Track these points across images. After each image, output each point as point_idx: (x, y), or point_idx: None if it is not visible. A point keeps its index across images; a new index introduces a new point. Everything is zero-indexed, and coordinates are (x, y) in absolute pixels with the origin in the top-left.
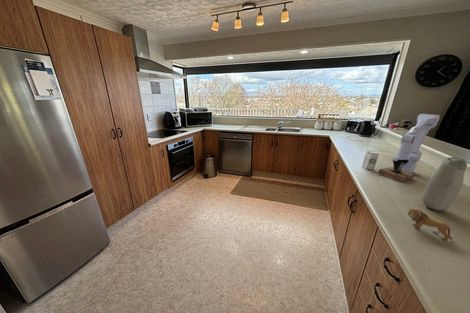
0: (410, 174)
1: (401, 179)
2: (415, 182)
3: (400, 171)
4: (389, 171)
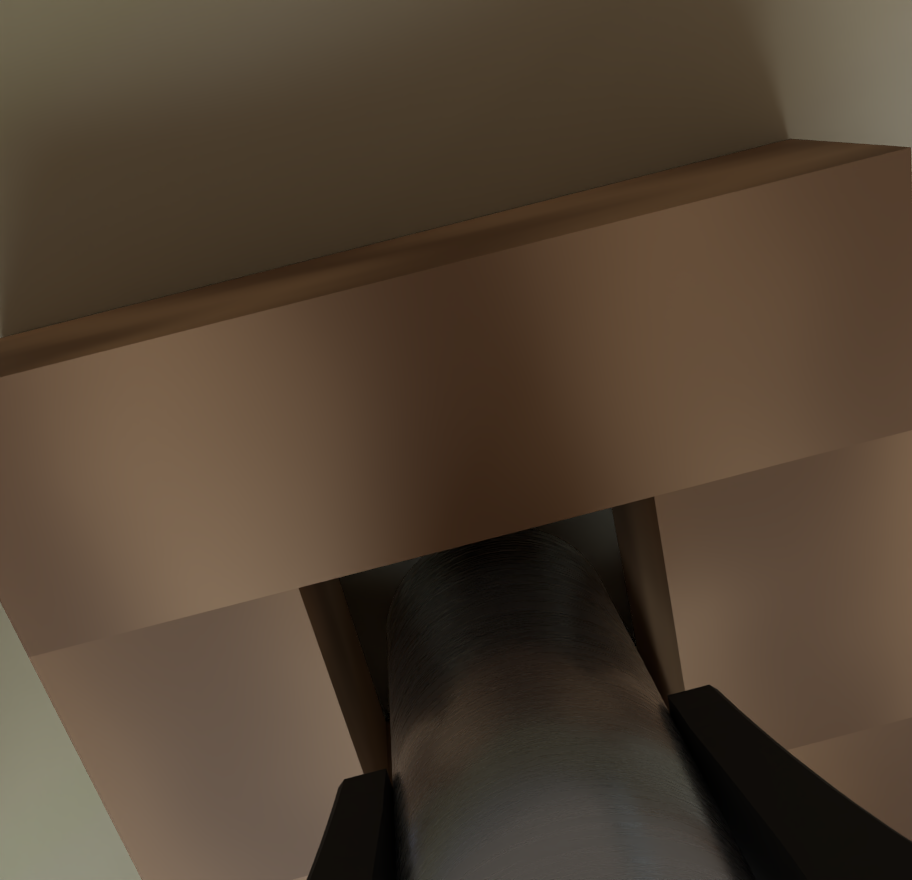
0: (101, 433)
1: (802, 153)
2: (167, 46)
3: (520, 613)
4: (779, 712)
